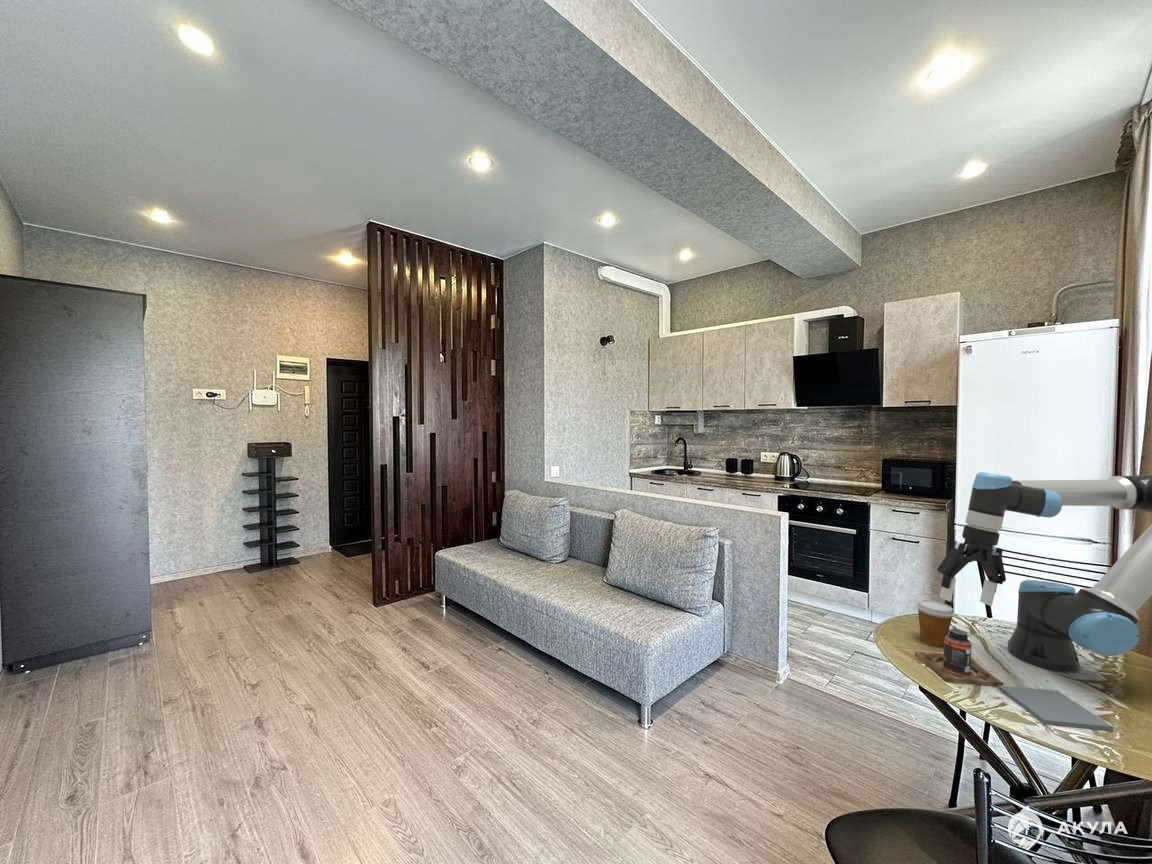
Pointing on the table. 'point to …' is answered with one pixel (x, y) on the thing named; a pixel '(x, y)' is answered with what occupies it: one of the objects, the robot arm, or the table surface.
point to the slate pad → (1054, 708)
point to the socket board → (950, 676)
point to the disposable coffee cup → (934, 621)
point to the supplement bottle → (957, 652)
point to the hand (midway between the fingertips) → (965, 601)
